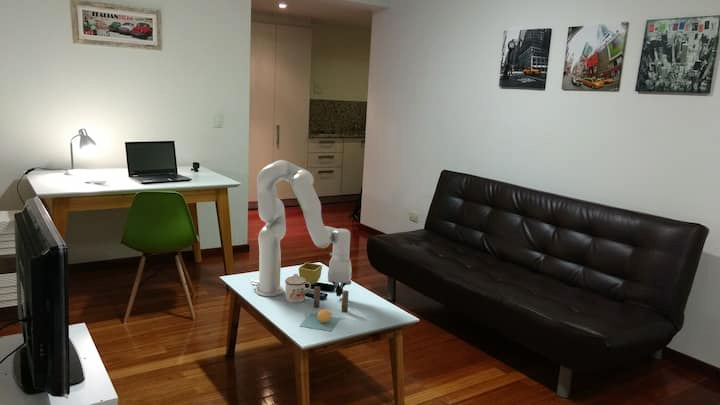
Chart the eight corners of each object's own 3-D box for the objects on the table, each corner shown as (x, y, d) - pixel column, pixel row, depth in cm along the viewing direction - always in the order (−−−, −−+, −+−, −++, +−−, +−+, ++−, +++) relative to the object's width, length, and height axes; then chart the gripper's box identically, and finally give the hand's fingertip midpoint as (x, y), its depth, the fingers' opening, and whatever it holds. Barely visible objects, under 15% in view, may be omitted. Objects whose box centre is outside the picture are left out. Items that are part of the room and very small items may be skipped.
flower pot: (314, 288, 262) (315, 270, 260) (297, 285, 265) (298, 267, 263) (322, 282, 270) (322, 265, 268) (305, 279, 273) (306, 262, 271)
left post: (312, 307, 240) (313, 288, 239) (314, 305, 243) (315, 286, 241) (318, 308, 240) (319, 288, 238) (320, 306, 242) (321, 286, 240)
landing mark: (299, 326, 222) (299, 325, 222) (310, 313, 234) (310, 313, 234) (330, 331, 219) (330, 330, 219) (340, 318, 231) (340, 317, 231)
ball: (316, 308, 225) (320, 309, 230) (315, 321, 223) (319, 323, 228) (329, 308, 224) (333, 310, 229) (328, 322, 222) (332, 323, 227)
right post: (340, 312, 238) (341, 292, 236) (342, 309, 240) (343, 290, 238) (346, 312, 237) (347, 293, 235) (348, 310, 239) (349, 290, 238)
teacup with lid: (289, 304, 243) (290, 279, 240) (281, 297, 250) (282, 272, 248) (314, 300, 249) (315, 275, 246) (306, 293, 256) (306, 269, 254)
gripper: (322, 256, 246) (320, 295, 250) (354, 261, 243) (352, 300, 247) (327, 252, 253) (325, 290, 257) (359, 256, 250) (357, 294, 254)
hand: (339, 295), depth 252 cm, fingers closed
